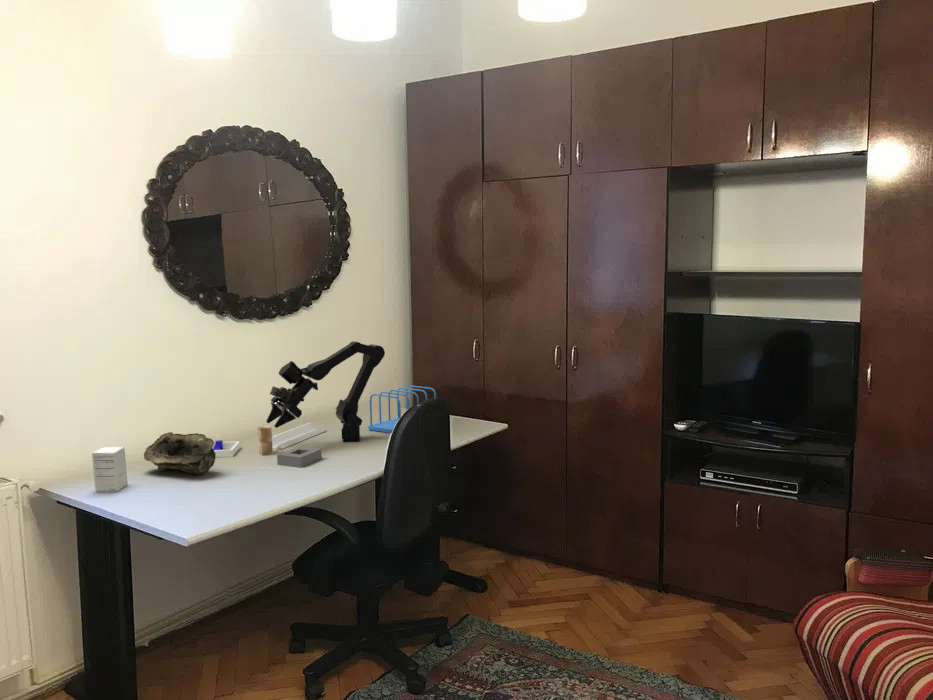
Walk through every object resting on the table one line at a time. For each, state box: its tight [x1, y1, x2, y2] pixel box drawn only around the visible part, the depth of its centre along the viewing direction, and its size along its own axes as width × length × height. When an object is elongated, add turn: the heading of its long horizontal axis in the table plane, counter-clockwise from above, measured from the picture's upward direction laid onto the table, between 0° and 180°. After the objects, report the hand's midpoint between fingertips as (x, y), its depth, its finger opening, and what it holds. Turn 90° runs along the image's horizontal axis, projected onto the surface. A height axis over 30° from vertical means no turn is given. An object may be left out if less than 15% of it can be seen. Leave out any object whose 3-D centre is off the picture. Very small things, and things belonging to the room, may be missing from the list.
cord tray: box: [212, 441, 241, 459], centre depth 294 cm, size 13×13×2 cm
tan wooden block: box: [257, 425, 274, 456], centre depth 290 cm, size 4×3×10 cm
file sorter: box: [367, 385, 437, 434], centre depth 329 cm, size 25×17×15 cm
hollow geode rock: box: [143, 431, 217, 476], centre depth 270 cm, size 28×13×15 cm
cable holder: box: [211, 439, 224, 450], centre depth 294 cm, size 8×4×4 cm, turn 161°
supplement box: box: [91, 446, 129, 493], centre depth 252 cm, size 7×7×13 cm
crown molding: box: [256, 422, 328, 450], centre depth 313 cm, size 31×12×4 cm, turn 158°
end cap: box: [276, 446, 323, 468], centre depth 279 cm, size 12×10×4 cm
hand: (271, 424), depth 291 cm, fingers open, 9 cm apart
